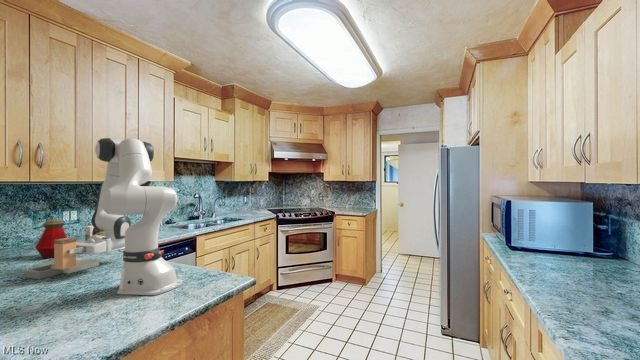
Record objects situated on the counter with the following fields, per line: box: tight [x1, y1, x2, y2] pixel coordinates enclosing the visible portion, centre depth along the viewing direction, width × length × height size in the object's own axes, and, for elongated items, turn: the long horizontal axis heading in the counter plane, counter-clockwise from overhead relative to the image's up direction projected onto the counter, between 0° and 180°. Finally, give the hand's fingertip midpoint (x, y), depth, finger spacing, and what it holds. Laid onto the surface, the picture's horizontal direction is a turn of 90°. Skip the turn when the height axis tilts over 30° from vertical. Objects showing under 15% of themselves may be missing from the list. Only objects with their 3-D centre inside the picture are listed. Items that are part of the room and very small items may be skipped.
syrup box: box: [84, 224, 94, 241], centre depth 168 cm, size 6×6×14 cm
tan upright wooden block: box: [53, 237, 77, 270], centre depth 117 cm, size 5×5×12 cm
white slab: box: [24, 257, 100, 280], centre depth 127 cm, size 20×22×3 cm
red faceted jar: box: [35, 219, 68, 259], centre depth 151 cm, size 16×14×20 cm
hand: (63, 251), depth 116 cm, fingers closed on tan upright wooden block, 5 cm apart
